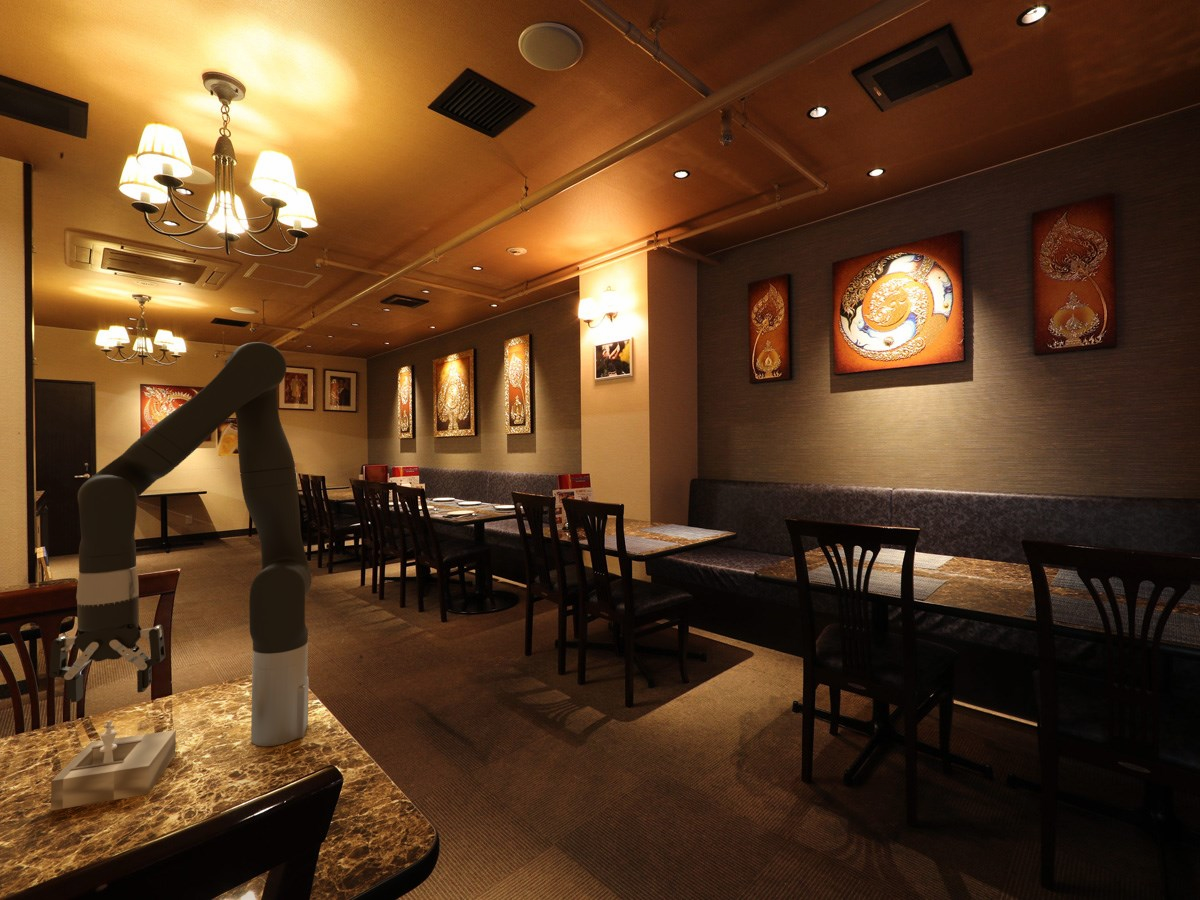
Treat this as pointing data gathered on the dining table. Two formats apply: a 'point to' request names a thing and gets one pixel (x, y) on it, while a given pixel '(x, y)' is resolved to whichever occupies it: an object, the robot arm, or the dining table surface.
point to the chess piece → (108, 742)
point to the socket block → (113, 770)
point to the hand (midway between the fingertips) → (110, 695)
